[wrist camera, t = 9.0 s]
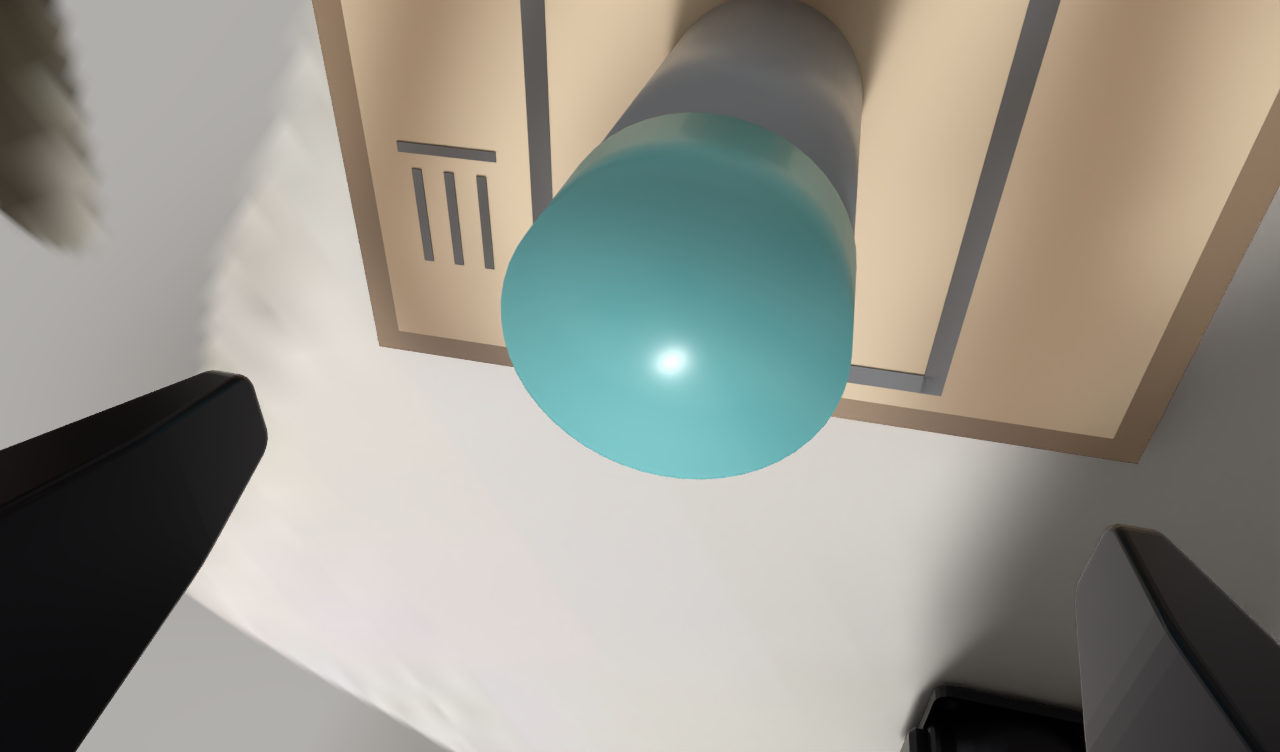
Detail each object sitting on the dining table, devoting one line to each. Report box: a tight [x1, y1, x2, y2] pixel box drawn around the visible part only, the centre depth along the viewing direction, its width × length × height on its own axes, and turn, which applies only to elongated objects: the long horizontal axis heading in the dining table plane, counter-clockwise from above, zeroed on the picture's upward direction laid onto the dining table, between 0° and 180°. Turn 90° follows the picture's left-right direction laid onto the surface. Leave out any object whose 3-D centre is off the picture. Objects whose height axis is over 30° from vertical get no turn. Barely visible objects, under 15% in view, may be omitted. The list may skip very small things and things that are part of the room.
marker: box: [501, 0, 863, 479], centre depth 13 cm, size 4×4×9 cm
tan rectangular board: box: [312, 0, 1280, 464], centre depth 17 cm, size 20×16×2 cm
